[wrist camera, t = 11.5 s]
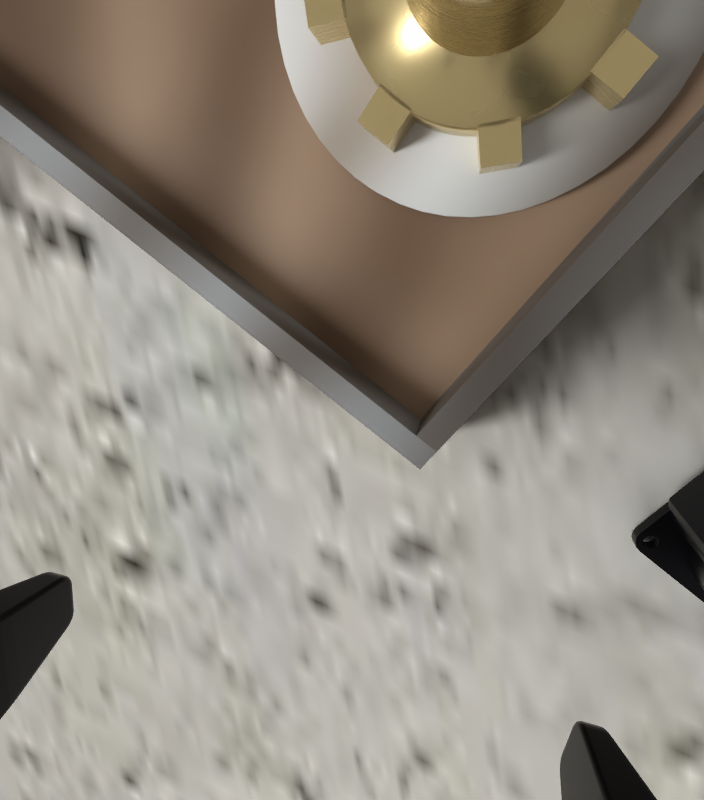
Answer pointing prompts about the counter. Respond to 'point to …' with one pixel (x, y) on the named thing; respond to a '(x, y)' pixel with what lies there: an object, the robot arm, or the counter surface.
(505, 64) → the gear
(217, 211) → the wooden serving tray
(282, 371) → the counter surface
